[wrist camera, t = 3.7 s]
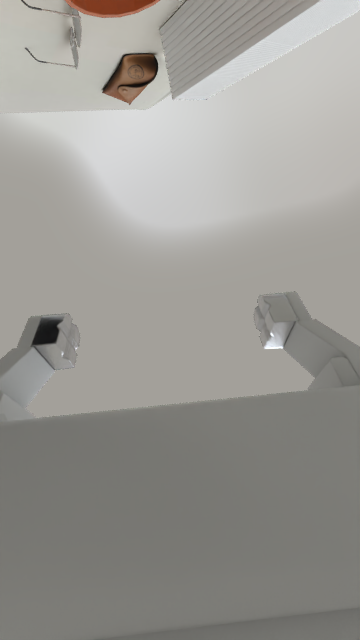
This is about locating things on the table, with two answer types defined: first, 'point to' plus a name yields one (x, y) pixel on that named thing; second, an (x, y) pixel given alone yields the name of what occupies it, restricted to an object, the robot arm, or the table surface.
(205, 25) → the white ribbed block
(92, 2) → the bowl
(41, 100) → the table surface
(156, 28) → the table surface
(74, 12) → the eyeglasses
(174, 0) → the table surface
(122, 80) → the sunglasses case
